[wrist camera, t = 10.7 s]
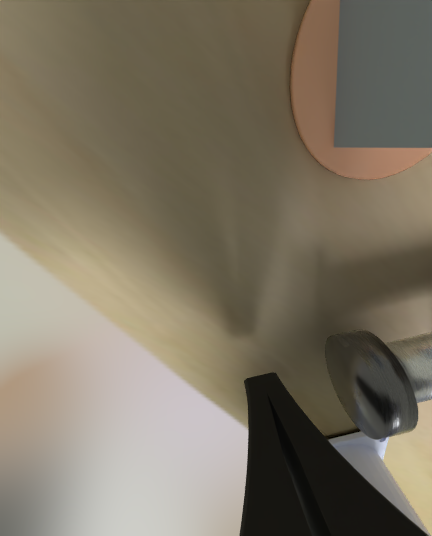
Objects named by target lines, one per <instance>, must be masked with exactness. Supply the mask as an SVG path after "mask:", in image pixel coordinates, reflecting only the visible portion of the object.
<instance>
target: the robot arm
mask: <svg viewBox="0 0 432 536" xmlns="http://www.w3.org/2000/svg"><path fill="white" fill-rule="evenodd" d="M244 383H245V388H246V394H247V401H248V426H249V438H248V461H247V475H246V486H245V496H244V505H243V514H242V522H241V529H240V536H431V535H430V533H429V532H428V530H427V529H426V527H425V526H424V524H423V523H422V521H421V519H420V518H419V516H418V515H417V513H416V512H415V510H414V509H413V507H412V505H411V504H410V502H409V501H408V499H407V498H406V496H405V495H404V493H403V491H402V490H401V488H400V487H399V485H398V484H397V482H396V481H395V479H394V477H393V476H392V474H391V473H390V471H389V470H388V468H387V467H386V465H385V463H384V462H383V457H384V454H385V450H386V446H387V443H388V439H389V437H387V438H383V439H379V440H375V439H371V438H369V437H368V436H366V435H365V434H364V433H363V432H362V431H361V432H357V433H352V434H348V435H344V436H340V437H336V438H332V439H328V440H327V439H326V438H325V437H324V435H323V434H322V433H321V432H320V431H319V430H318V429H317V428H316V426H315V425H314V424H313V423H312V422H311V420H310V419H309V418H308V417H307V416H306V414H305V413H304V412H303V411H302V409H301V408H300V407H299V406H298V404H297V403H296V402H295V400H294V399H293V398H292V396H291V395H290V394H289V392H288V391H287V389H286V388H285V387H284V385H283V384H282V382H281V381H280V379H279V377H278V376H277V374H276V373H274V372H273V373H268V374H264V375H260V376H255V377H251V378H247V379H246V380H245V381H244Z"/></svg>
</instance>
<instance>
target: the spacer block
mask: <svg viewBox="0 0 432 536" xmlns="http://www.w3.org/2000/svg"><path fill="white" fill-rule="evenodd" d="M334 147H338V148H432V0H340V13H339V36H338V60H337V83H336V107H335V130H334Z"/></svg>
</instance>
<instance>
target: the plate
mask: <svg viewBox="0 0 432 536" xmlns="http://www.w3.org/2000/svg"><path fill="white" fill-rule="evenodd" d="M339 13H340V0H310V2H309V5H308V7H307V9H306V11H305V14H304V16H303V19H302V22H301V25H300V28H299V31H298V34H297V38H296V42H295V47H294V51H293V56H292V64H291V73H290V94H291V106H292V111H293V116H294V120H295V123H296V126H297V129H298V133H299V135H300V137H301V139H302V141H303V143H304V145H305V146H306V148H307V149H308V151H309V152H310V154H311V155H312V156H313V157H314V158H315V159H316V160H317V161H318V162H319V163H320V164H321V165H323V166H324V167H325V168H326V169H328V170H330V171H332V172H334V173H335V174H338V175H341V176H344V177H349V178H355V179H365V180H371V179H379V178H384V177H387V176H391V175H394V174H397V173H399V172H401V171H404V170H406V169H408V168H409V167H411V166H413V165H415V164H416V163H418V162H419V161H421V160H422V159H424V158H425V157H427V156H428V155H429V154H430V153H431V152H432V148H338V147H334V130H335V107H336V83H337V60H338V36H339Z"/></svg>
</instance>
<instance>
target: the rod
mask: <svg viewBox="0 0 432 536" xmlns="http://www.w3.org/2000/svg"><path fill="white" fill-rule="evenodd" d="M325 358H326V364H327V368H328V372H329V375H330V378H331V381H332V384H333V386H334V389H335V391H336V394H337V396H338V398H339V400H340V402H341V404H342V405H343V407H344V409H345V411H346V412H347V414H348V415H349V417H350V418H351V420H352V421H353V422H354V424H355V425H356V426H357V427H358V428H359V429H360V430H361V431H362V432H363V433H364V434H365V435H366V436H368V437H369V438H371V439H375V440H379V439H383V438H387V437H391V436H395V435H399V434H403V433H407V432H410V431H412V430H413V429H414V428H415V427H416V425H417V421H418V406H417V403H419V402H423V401H427V400H431V399H432V332H431V333H426V334H422V335H418V336H413V337H409V338H405V339H401V340H396V341H392V342H388V343H384V342H382V341H381V340H380V339H379V338H378V337H377V336H375V335H374V334H372V333H370V332H368V331H366V330H354V331H350V332H345V333H341V334H337V335H332V336H330V337H329V338H328V339H327V341H326V344H325Z"/></svg>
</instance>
